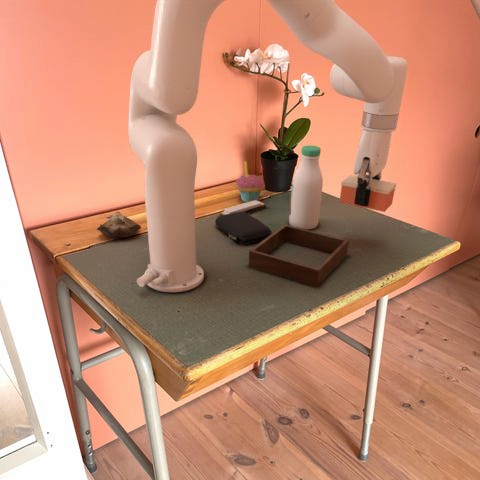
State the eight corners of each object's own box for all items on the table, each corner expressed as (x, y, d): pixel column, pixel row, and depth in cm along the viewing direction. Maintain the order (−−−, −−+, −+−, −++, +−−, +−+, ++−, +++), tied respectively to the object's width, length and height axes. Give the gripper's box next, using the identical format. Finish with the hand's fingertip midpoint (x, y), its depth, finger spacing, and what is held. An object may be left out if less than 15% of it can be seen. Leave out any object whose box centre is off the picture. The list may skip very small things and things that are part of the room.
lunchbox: (384, 212, 114) (388, 191, 111) (338, 202, 118) (341, 181, 115) (392, 204, 118) (396, 183, 115) (347, 194, 123) (350, 174, 120)
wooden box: (317, 287, 104) (319, 270, 102) (248, 266, 111) (249, 250, 109) (346, 255, 117) (349, 240, 115) (283, 239, 124) (284, 224, 121)
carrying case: (208, 226, 129) (238, 248, 119) (208, 215, 127) (238, 236, 117) (243, 219, 134) (274, 239, 123) (243, 208, 132) (275, 228, 122)
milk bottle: (323, 226, 131) (333, 149, 120) (301, 232, 127) (309, 153, 116) (304, 216, 136) (312, 141, 125) (282, 222, 132) (288, 145, 121)
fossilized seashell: (92, 233, 118) (133, 242, 118) (97, 205, 118) (139, 214, 118) (100, 236, 125) (139, 245, 126) (105, 210, 125) (144, 219, 125)
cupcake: (245, 206, 141) (246, 164, 134) (229, 197, 147) (230, 156, 140) (269, 201, 145) (272, 160, 138) (253, 192, 151) (255, 152, 144)
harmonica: (226, 220, 132) (226, 213, 131) (219, 217, 134) (219, 210, 133) (266, 208, 140) (266, 201, 139) (258, 205, 142) (259, 198, 141)
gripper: (375, 111, 115) (362, 187, 126) (349, 126, 103) (337, 208, 113) (407, 116, 112) (392, 193, 122) (384, 131, 100) (369, 215, 110)
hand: (366, 199), depth 118 cm, fingers closed on lunchbox, 6 cm apart
